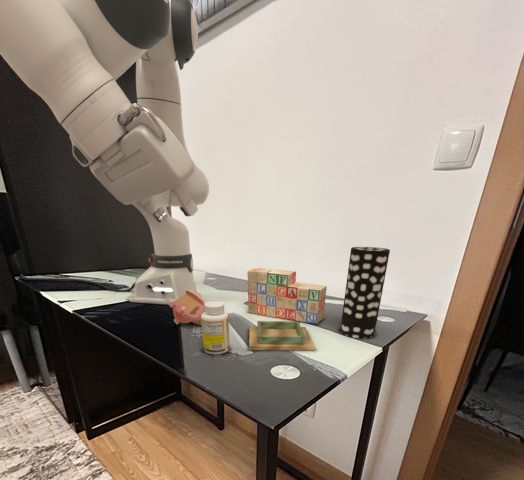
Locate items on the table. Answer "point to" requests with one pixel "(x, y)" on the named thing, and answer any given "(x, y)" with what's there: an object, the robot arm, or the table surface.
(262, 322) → the wooden board green frame
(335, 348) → the table surface
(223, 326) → the supplement bottle
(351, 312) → the spotted tube
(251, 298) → the stack of blocks
